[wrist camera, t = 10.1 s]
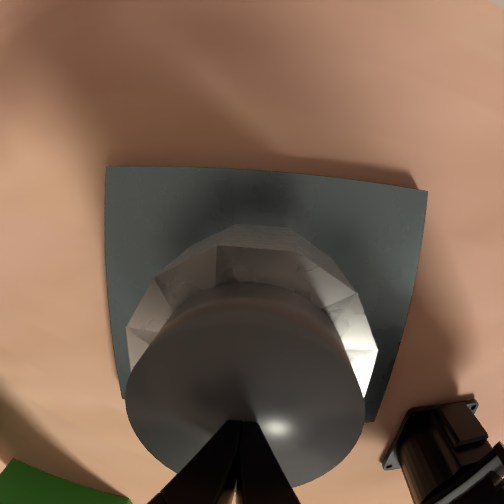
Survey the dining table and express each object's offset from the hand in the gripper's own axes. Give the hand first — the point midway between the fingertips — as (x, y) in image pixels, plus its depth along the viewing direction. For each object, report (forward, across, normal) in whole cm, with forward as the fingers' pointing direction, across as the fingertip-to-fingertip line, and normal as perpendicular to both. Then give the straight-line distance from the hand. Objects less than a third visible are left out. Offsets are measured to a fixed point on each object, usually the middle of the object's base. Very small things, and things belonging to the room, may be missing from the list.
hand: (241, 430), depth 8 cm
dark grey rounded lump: (+6, 0, 0) cm, 6 cm away
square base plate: (+9, 0, 0) cm, 9 cm away
